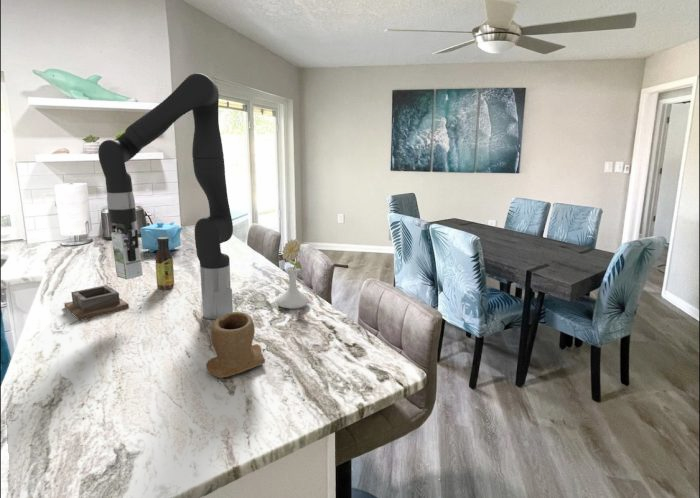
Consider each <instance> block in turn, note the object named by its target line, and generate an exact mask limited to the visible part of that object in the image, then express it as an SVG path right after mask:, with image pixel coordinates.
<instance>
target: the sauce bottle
mask: <svg viewBox="0 0 700 498" xmlns="http://www.w3.org/2000/svg"><path fill="white" fill-rule="evenodd" d="M157 242H158V250H157V252H156V253H155V272H156V273H155V276H156V286H157V289H158V290H162V291H163V290H164V291H165V290H170V289H171V290H172V289H173V288H174V287H175V274H174V258H173V255H172V252H171V250H169V244H168V242H169V238H168V237H159V238H157Z"/></svg>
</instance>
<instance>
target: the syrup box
mask: <svg viewBox="0 0 700 498" xmlns="http://www.w3.org/2000/svg"><path fill="white" fill-rule="evenodd" d="M110 236H111V241H112V243H111V244H112V249H113V259H114V264H115V271H116V277H117V278H120V279H124V280H130V279H131V280H132V279H135V278H139V277H141V276H142V277H143V275H144V274H143V266H142V264H143V263H142V257H141V256H142V255H141V249H140V241H139V238H138V248H136V249H135V253H136V261H132V262H129V261H128V256H127V249H126V243H124V240H125V239H126V240H128V235H127V236H126V235H125V234H119V232H118V233H116V232H111V233H110Z"/></svg>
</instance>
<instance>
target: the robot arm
mask: <svg viewBox="0 0 700 498" xmlns="http://www.w3.org/2000/svg"><path fill="white" fill-rule="evenodd" d="M219 96H220V94H219V89H218V86H217V84H216V82H214V81H213V80H212V79H211V78H210V77H209V76H207V75H206V74H203V73H200V72H195V73H192V74H190V75H189V76H186V78H185V79H184V80H183V81H182V82H181V83H180V84H179V85H178V86H177V87H176V88H175V90H174V91H172V92H171V94H169V95H168V96H167V97H166V98H165V99H164V100H163V101H161V102H160V103H158V104H157V105H156V106H155V107H154V108H152V109H151V110H150V111H148V112H147V113H145V114H144V115H142V116H141V117H140V118H138V119H136V120H135V121H133V123H131V124H130V125H128V127H126V129H125V132H124V133H123V134H121V135H120V136H118V137H117V138H116V139H107V140H103V141H102V142H101V143H100V145H99V146H98V150H97V151H98V160H99V163H100V164H99V165H100V167H101V170H102V173H103V175H104V178H105V187H106V203H107V212H108V219H109V223H111V224H112V225H111V231H112V232H111V233H113V232H116V233H118V232H119V234H125V235H126V236H127V235H128V240H126V239H125V240H124V243H126V249H127V256H128V261H129V262H132V261H136V253H135V249H136V248H138V239H139V234H138V233H139V232H138V229H137V228H136V229H135V228H133V224H132V223H135V222H136V221H137V211H136V202H135V200H136V199H135V196H134V189H133V183H132V176H131V174H129V172H127V169H126V163H127V162H129V161H130V160H131V159H133V158H134V157H135V156H136V155H137V154H139V152H140V151H141V150H143V148H145V147H146V146H148V145H150V144H151V143H152V142H154V141H155V140H156V139H158V138H159V137H161V136H162V135H163V134H164V133H165V132H167V130H169V128H170V127H171V126H172V125H174V123H175V122H177V120H179V119H180V118H181V117H182V116H184V115H186V114H187V113H188V112H190V111H192V117H193V121H194V131H193V141H192V149H191V153H192V154H191V155H192V164H193V166H192V167H193V172H194V176H195V178H196V180H197V183H198V184H199V187H200V188H201V189H202V191H203V193H204V194H205V197H206V198H207V201H208V208H209V210H208V211H209V216H205V217H202V218H200V219H198V220H197V222H196V223H195V226H194V242H195V243H194V244H195V249H196V250H195V252H196V257H197V258H198V262H199V268H200V270H199V271H200V287H201V290H200V291H201V303H202V304H201V307H202V316H203V318H205V319H207V320H208V319H209V320H214V321H215V320H216V319H217V318H219V317H221V316H224V315H225V314H227V313H231V312H234V308H233V307H234V305H233V289H232V288H231V264H230V263H231V262H230V256H229V255H228V254H226V253H223V252H222V250H221V244H223V243H226V242H228V241H229V240H230V239H231V238H232V236H233V235H234V234H233V233H234V226H233V225H234V224H233V218H232V213H231V208H230V204H229V196H228V192H227V191H228V190H227V181H226V168H225V165H226V164H225V158H224V157H225V156H224V150H223V143H222V136H221V131H220V126H219V125H220V124H219V122H220V121H219V102H220V101H219V99H220V98H219Z"/></svg>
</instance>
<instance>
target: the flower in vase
mask: <svg viewBox="0 0 700 498" xmlns="http://www.w3.org/2000/svg"><path fill="white" fill-rule="evenodd" d="M300 249H301V243H300V242H299V241H298V240H297V239H295V238H294V239H292V238H291V239H290V240H288V241H287V243H286V242H285V244H284V246H283V249H282V258H283V260H285V261H286V262H288V263H289V264H291V265H293V266H288V267H286V268H285V270H286V272H287V274H288V277H289V279H288V280H289V286H288V289H287V290H286V291H285V292H283V293H282V294H280V296H278V297H277V300H276V304H277V305H278V306H279V307H280V308H281V307H282V308H285V309H291V310H292V309H294V310H295V309H300V308H304V307H306V306H307V305H308V304H309V303H310V302H309V301H310V300H309V298H308V296H307V295H305V293H303V292H301V291H300V290H299V288H297V276H298V272H300V269H303V268H302V264H301V261H300V260H299V261H298V257H297V256H298V255H299V253H300V251H301V250H300ZM294 259H295V261H296V262H294Z"/></svg>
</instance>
